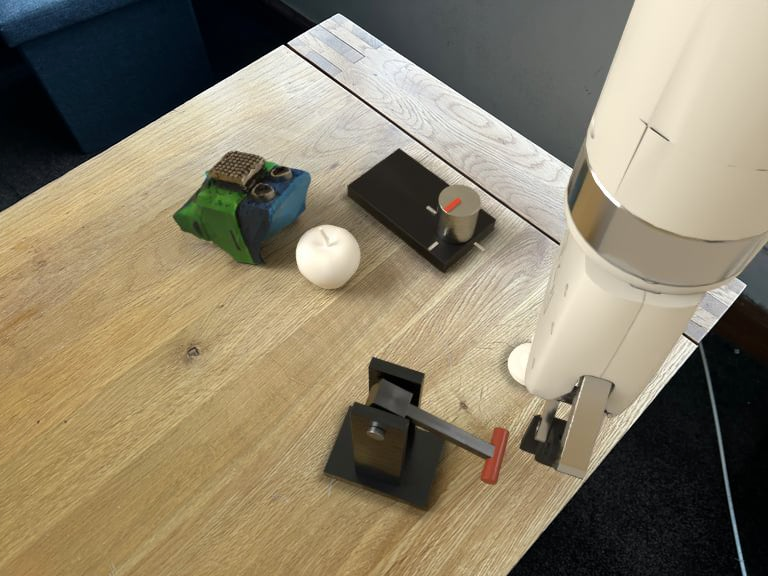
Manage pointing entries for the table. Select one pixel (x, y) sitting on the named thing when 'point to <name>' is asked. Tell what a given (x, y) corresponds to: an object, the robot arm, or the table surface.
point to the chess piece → (519, 361)
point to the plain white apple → (328, 256)
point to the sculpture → (244, 204)
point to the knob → (457, 214)
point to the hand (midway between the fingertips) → (563, 379)
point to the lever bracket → (387, 444)
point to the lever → (441, 427)
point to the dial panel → (413, 207)
